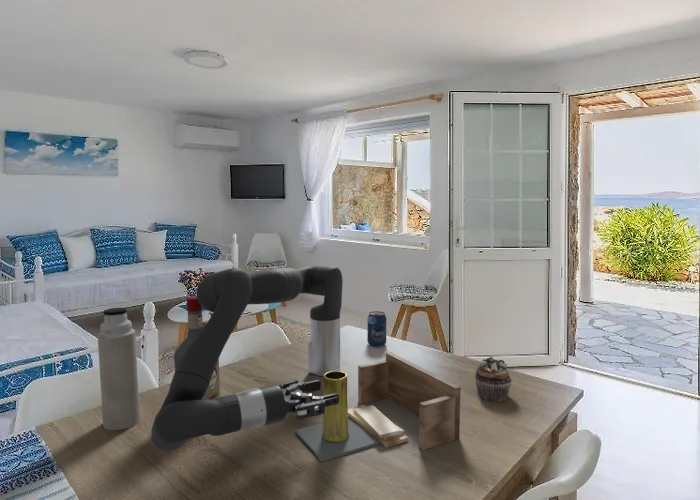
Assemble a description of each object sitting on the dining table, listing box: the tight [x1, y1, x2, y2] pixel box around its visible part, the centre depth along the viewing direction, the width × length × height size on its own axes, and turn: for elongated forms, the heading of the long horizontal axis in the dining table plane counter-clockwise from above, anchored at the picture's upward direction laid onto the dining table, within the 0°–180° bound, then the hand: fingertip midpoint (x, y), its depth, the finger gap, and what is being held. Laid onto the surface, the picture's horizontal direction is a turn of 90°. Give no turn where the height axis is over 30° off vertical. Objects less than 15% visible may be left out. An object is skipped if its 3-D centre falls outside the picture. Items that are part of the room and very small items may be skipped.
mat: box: [294, 417, 380, 463], centre depth 106 cm, size 14×14×1 cm
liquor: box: [173, 295, 221, 400], centre depth 116 cm, size 9×9×30 cm
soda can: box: [366, 310, 387, 348], centre depth 173 cm, size 7×7×12 cm
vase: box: [322, 370, 349, 442], centre depth 105 cm, size 6×6×14 cm
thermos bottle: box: [97, 307, 141, 431], centre depth 112 cm, size 8×8×28 cm
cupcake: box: [474, 356, 513, 402], centre depth 129 cm, size 10×10×10 cm
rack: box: [348, 351, 462, 451], centre depth 113 cm, size 17×28×12 cm, turn 30°
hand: (328, 391), depth 103 cm, fingers open, 8 cm apart
